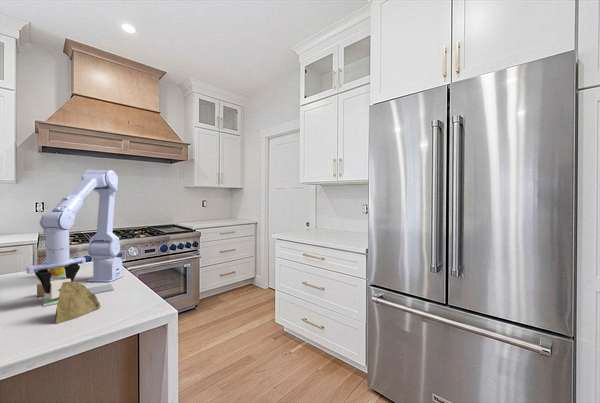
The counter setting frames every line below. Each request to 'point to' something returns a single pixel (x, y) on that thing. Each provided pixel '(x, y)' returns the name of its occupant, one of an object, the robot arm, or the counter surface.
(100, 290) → the grey mat
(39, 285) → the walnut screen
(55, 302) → the green mat
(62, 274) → the supplement bottle
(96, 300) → the rock
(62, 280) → the lettered cube
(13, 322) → the counter surface
